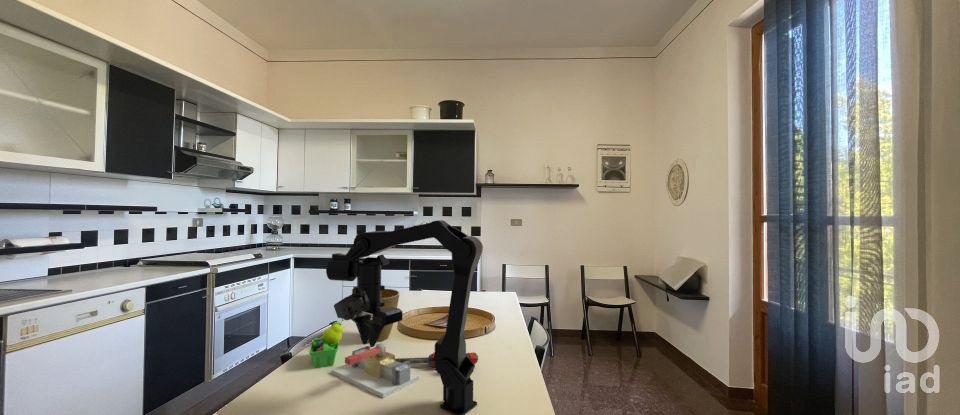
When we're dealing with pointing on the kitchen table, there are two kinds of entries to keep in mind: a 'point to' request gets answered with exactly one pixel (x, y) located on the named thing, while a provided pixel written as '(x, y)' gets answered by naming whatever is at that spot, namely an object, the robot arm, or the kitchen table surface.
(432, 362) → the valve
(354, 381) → the mounting board
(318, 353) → the fruit basket
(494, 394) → the kitchen table surface
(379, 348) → the lever
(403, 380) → the pipe valve
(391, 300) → the plant pot
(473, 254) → the robot arm
